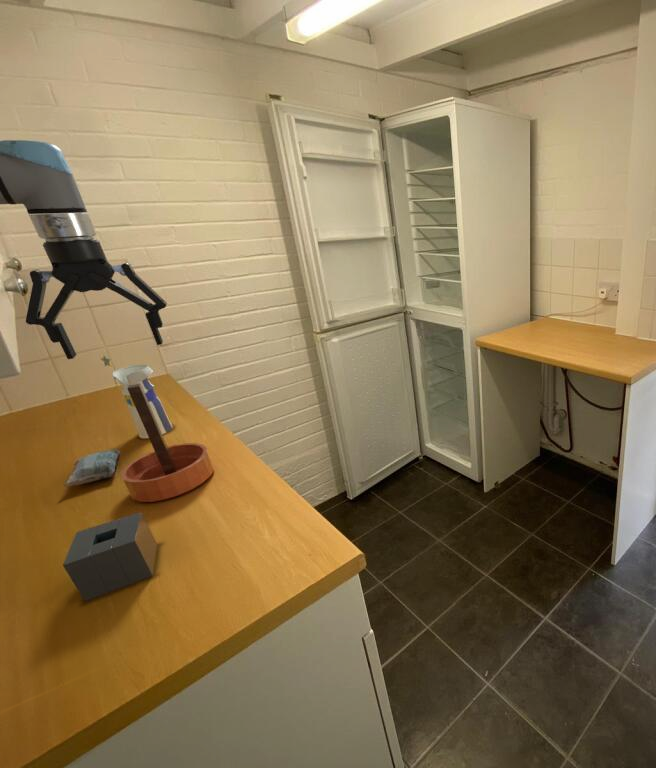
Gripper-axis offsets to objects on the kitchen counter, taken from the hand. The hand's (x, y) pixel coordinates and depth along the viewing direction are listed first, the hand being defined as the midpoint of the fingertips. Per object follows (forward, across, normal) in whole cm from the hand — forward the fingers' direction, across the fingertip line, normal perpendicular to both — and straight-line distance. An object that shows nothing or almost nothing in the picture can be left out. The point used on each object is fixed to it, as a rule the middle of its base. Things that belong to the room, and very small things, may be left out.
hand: (118, 350), depth 84 cm
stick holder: (+33, -6, -27) cm, 43 cm away
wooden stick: (+32, 0, 0) cm, 32 cm away
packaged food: (+33, -16, +15) cm, 40 cm away
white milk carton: (+33, -6, +34) cm, 48 cm away
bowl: (+33, 0, 0) cm, 33 cm away
